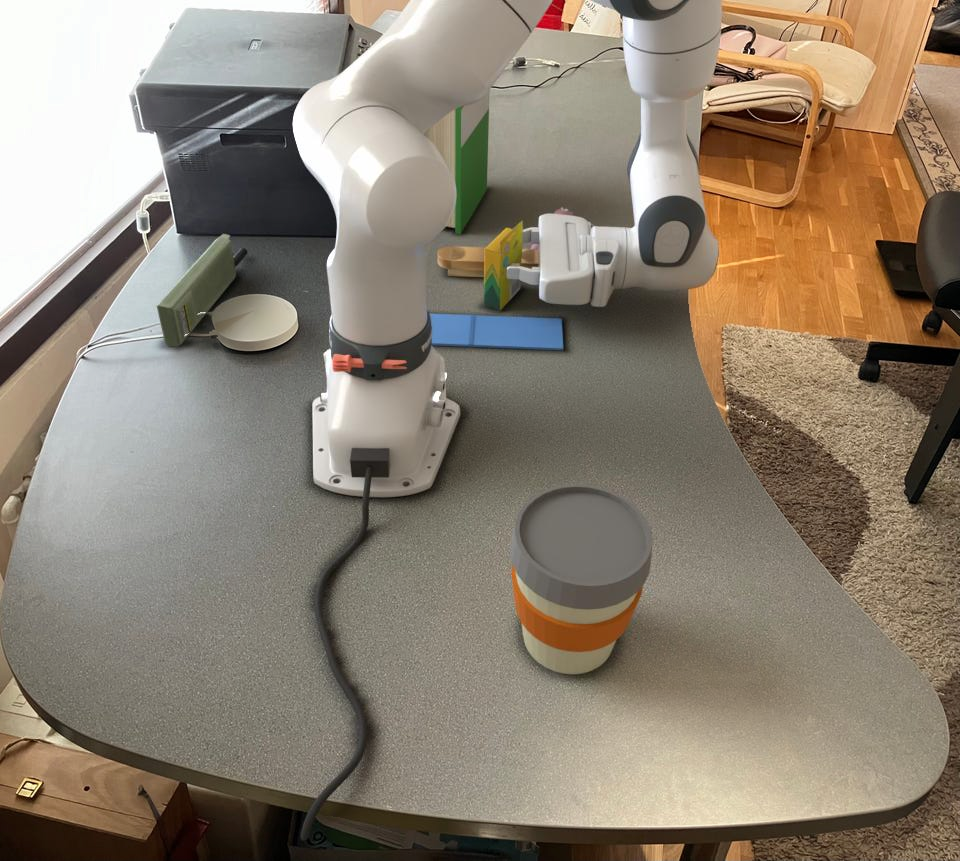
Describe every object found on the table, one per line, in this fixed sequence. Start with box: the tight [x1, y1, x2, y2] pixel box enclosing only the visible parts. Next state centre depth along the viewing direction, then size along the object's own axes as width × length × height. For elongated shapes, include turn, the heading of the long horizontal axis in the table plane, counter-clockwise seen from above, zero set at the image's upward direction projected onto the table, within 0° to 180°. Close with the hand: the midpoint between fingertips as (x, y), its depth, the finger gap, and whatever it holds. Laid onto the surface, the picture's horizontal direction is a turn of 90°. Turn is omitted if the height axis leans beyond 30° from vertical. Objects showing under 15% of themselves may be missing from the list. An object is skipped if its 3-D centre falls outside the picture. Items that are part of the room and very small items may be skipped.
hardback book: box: [423, 89, 491, 235], centre depth 146 cm, size 18×7×24 cm, turn 165°
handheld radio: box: [156, 233, 249, 348], centre depth 128 cm, size 7×3×25 cm
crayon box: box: [483, 220, 524, 312], centre depth 128 cm, size 7×3×12 cm, turn 152°
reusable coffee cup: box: [509, 483, 653, 675], centre depth 81 cm, size 13×13×15 cm
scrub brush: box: [436, 245, 539, 278], centre depth 137 cm, size 18×4×3 cm, turn 88°
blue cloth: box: [429, 312, 564, 351], centre depth 125 cm, size 8×20×1 cm, turn 88°
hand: (507, 254), depth 127 cm, fingers open, 8 cm apart
